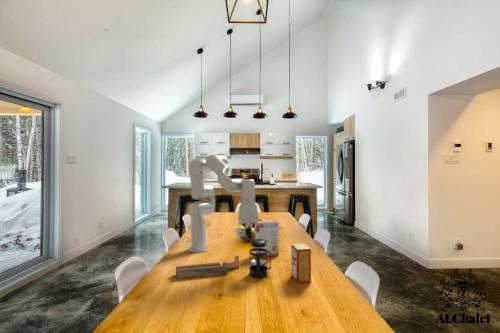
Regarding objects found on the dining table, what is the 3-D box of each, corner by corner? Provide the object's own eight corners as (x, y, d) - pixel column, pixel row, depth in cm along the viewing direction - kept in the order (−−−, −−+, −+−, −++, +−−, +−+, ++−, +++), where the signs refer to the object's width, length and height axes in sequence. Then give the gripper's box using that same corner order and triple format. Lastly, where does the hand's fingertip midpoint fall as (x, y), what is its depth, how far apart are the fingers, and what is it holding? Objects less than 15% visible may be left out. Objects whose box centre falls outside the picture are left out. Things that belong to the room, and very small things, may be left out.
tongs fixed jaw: (177, 275, 130) (177, 266, 130) (227, 270, 136) (227, 261, 136) (176, 279, 126) (176, 269, 126) (228, 273, 132) (228, 264, 132)
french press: (247, 278, 127) (247, 231, 127) (248, 270, 136) (247, 226, 136) (271, 278, 126) (271, 231, 126) (270, 271, 136) (270, 226, 136)
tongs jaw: (176, 274, 131) (176, 266, 131) (219, 269, 137) (219, 262, 137) (175, 276, 129) (175, 268, 129) (220, 271, 134) (220, 263, 135)
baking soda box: (291, 275, 130) (291, 243, 130) (304, 274, 131) (304, 242, 131) (297, 283, 121) (297, 248, 121) (310, 282, 122) (310, 248, 122)
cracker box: (276, 252, 165) (276, 219, 165) (279, 256, 159) (279, 221, 159) (254, 254, 162) (254, 220, 162) (256, 257, 156) (256, 222, 156)
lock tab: (225, 267, 140) (225, 255, 140) (238, 266, 142) (238, 254, 142) (226, 268, 138) (226, 256, 138) (239, 267, 140) (238, 255, 140)
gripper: (236, 203, 137) (236, 238, 137) (263, 201, 141) (263, 236, 141) (233, 201, 144) (233, 234, 144) (259, 200, 148) (259, 232, 148)
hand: (248, 235), depth 142 cm, fingers closed
